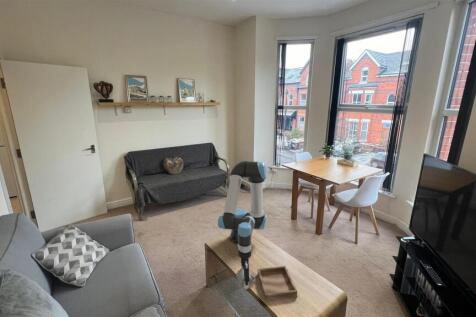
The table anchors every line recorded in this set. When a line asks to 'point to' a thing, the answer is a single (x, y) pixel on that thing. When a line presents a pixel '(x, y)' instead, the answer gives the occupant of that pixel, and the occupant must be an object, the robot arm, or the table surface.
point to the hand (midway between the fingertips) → (244, 281)
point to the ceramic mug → (241, 276)
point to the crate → (276, 283)
